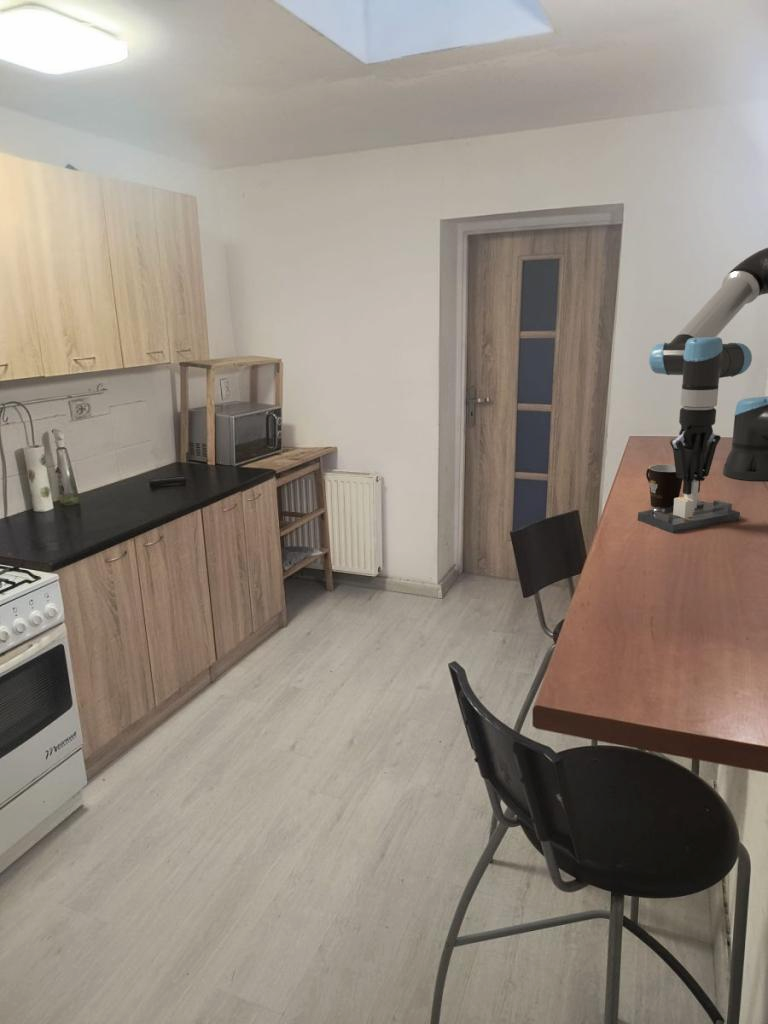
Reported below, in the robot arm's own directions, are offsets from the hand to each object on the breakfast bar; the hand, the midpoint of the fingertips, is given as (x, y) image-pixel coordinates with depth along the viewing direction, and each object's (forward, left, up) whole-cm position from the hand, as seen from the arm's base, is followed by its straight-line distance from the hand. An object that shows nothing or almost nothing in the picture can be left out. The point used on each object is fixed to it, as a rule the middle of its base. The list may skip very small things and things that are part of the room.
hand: (689, 506), depth 158 cm
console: (-1, -2, -4) cm, 4 cm away
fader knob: (+2, 0, -2) cm, 3 cm away
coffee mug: (-6, -15, -4) cm, 17 cm away
